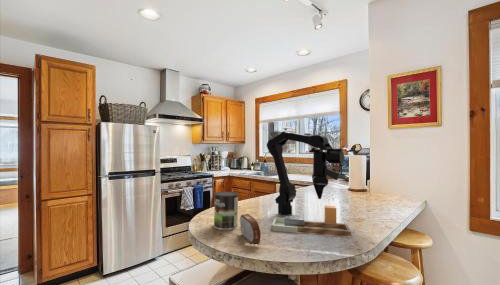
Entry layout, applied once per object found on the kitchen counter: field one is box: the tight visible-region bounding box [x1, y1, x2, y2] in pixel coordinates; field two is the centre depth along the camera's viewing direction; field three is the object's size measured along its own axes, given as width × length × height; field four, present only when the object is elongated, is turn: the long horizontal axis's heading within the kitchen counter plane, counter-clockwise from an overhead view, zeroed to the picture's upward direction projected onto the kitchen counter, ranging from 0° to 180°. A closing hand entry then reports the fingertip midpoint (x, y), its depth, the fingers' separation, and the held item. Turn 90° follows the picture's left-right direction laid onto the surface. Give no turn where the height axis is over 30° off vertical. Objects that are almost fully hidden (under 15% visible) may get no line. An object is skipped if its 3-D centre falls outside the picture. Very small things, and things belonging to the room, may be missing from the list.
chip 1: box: [284, 215, 296, 226], centre depth 98 cm, size 4×4×4 cm
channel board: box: [297, 220, 352, 238], centre depth 95 cm, size 20×12×2 cm, turn 77°
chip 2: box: [294, 216, 305, 227], centre depth 97 cm, size 4×4×4 cm
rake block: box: [323, 204, 337, 223], centre depth 104 cm, size 5×5×8 cm
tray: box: [270, 216, 299, 234], centre depth 99 cm, size 10×12×3 cm
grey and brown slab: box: [239, 213, 261, 245], centre depth 87 cm, size 15×3×8 cm, turn 21°
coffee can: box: [213, 191, 239, 231], centre depth 101 cm, size 10×10×14 cm
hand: (319, 196), depth 108 cm, fingers open, 9 cm apart
